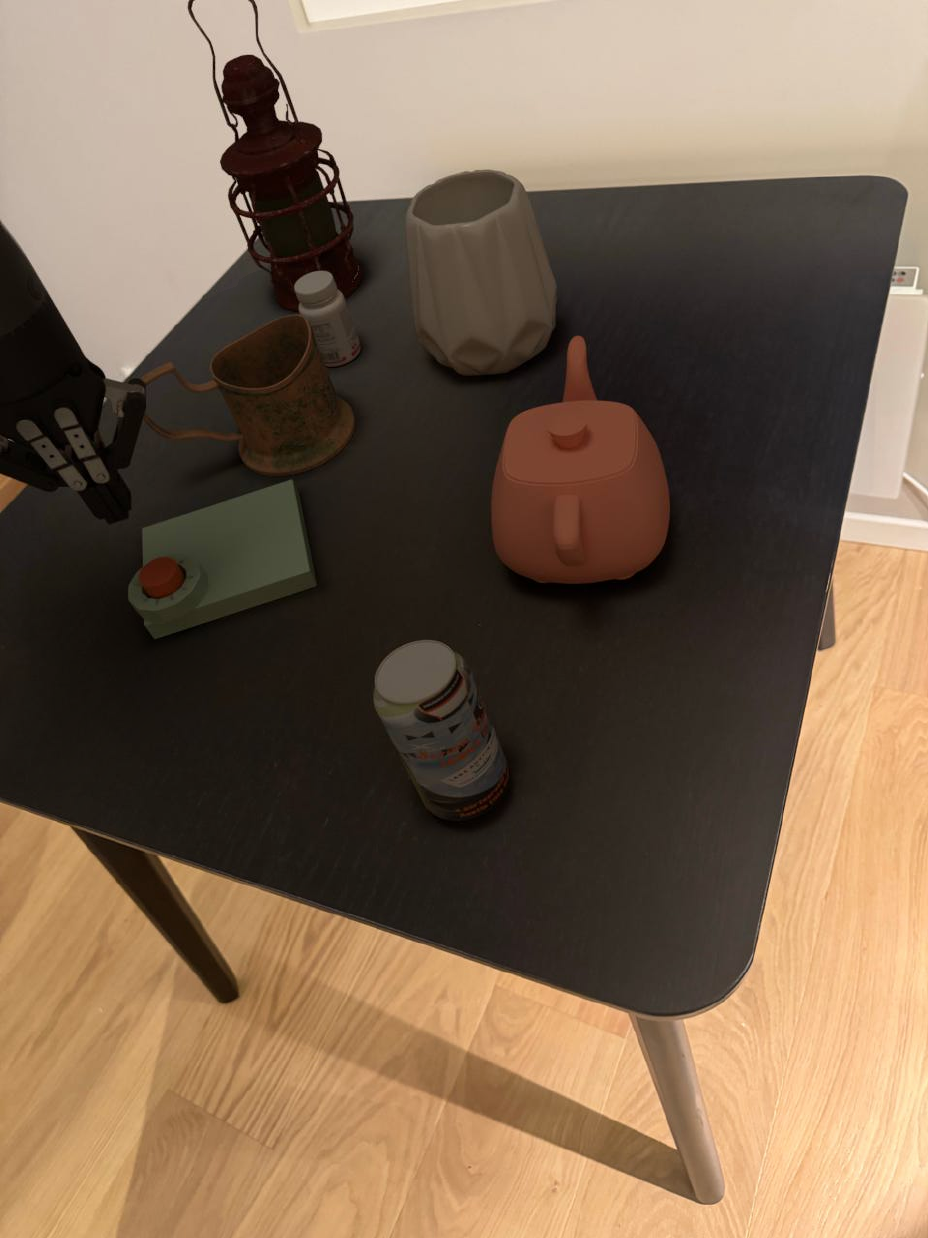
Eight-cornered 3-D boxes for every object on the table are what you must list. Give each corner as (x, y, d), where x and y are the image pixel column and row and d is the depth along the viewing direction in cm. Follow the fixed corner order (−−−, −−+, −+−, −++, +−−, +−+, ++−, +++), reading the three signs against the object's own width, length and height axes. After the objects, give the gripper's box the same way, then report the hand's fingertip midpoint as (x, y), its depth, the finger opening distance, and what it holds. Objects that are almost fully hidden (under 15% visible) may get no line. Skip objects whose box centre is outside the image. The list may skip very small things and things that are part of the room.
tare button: (147, 604, 74) (138, 591, 73) (146, 576, 77) (138, 563, 75) (185, 591, 74) (177, 578, 73) (183, 564, 77) (175, 551, 75)
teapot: (669, 444, 78) (663, 319, 69) (673, 631, 66) (667, 508, 57) (513, 456, 82) (488, 337, 72) (489, 636, 69) (455, 520, 60)
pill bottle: (345, 334, 100) (320, 262, 93) (370, 350, 97) (346, 276, 90) (309, 357, 98) (281, 285, 92) (333, 373, 95) (306, 300, 89)
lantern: (249, 313, 106) (125, 21, 84) (300, 254, 113) (197, -31, 90) (340, 319, 102) (234, 11, 79) (388, 257, 108) (302, -44, 86)
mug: (170, 457, 92) (110, 355, 83) (330, 381, 94) (289, 274, 85) (201, 523, 84) (139, 419, 75) (373, 438, 87) (334, 328, 78)
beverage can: (461, 849, 59) (415, 750, 50) (394, 778, 63) (341, 674, 54) (534, 786, 61) (503, 679, 52) (464, 720, 65) (424, 611, 56)
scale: (148, 646, 76) (128, 619, 73) (145, 544, 84) (127, 517, 81) (318, 590, 76) (304, 561, 73) (299, 494, 84) (286, 465, 82)
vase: (556, 383, 87) (533, 229, 75) (412, 393, 90) (369, 248, 79) (570, 297, 95) (551, 148, 84) (437, 309, 99) (402, 167, 88)
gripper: (90, 247, 59) (201, 457, 72) (-111, 310, 59) (37, 510, 72) (86, 305, 54) (207, 519, 67) (-133, 374, 54) (30, 576, 67)
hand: (119, 514), depth 69 cm, fingers closed
